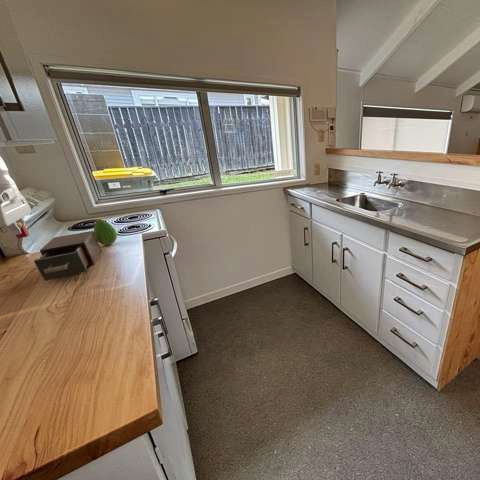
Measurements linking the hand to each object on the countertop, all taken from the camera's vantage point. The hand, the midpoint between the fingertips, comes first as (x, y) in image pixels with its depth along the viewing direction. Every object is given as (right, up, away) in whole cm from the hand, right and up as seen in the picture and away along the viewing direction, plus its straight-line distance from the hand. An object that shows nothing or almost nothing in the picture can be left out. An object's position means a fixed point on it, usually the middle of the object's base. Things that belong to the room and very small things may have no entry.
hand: (21, 232), depth 90 cm
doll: (0, -1, +1) cm, 2 cm away
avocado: (+7, -5, +29) cm, 30 cm away
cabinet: (+8, -11, +13) cm, 19 cm away
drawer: (+13, -14, +4) cm, 20 cm away
